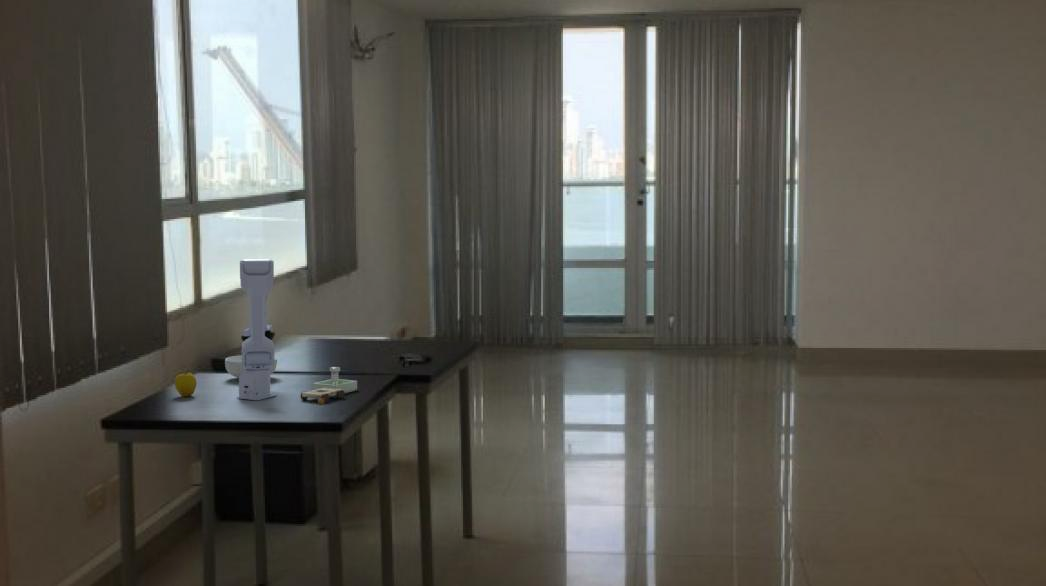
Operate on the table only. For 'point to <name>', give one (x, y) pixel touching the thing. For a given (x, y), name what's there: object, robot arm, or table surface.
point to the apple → (185, 384)
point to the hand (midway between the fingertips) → (258, 356)
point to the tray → (342, 384)
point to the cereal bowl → (236, 367)
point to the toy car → (322, 394)
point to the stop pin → (334, 375)
